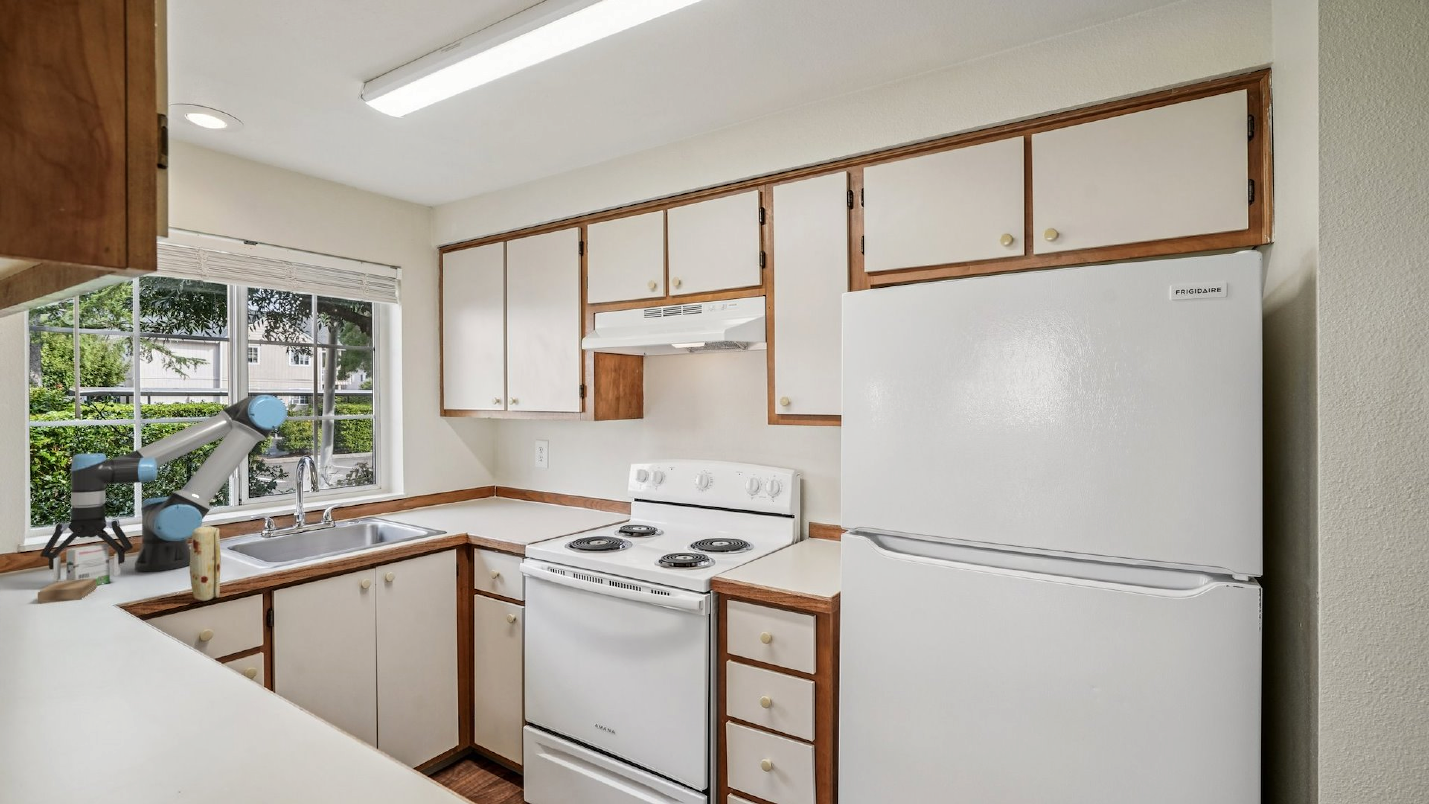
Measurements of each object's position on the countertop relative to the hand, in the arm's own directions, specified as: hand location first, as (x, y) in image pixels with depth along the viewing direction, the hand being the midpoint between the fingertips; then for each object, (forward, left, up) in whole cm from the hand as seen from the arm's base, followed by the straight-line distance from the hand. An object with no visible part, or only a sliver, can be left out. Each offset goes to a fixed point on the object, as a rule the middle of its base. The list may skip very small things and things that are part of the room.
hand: (87, 577), depth 201 cm
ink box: (0, 0, -3) cm, 3 cm away
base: (+1, +12, -3) cm, 12 cm away
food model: (-34, +35, -3) cm, 49 cm away
